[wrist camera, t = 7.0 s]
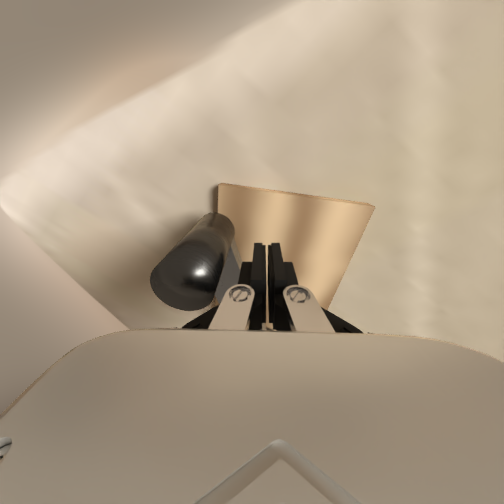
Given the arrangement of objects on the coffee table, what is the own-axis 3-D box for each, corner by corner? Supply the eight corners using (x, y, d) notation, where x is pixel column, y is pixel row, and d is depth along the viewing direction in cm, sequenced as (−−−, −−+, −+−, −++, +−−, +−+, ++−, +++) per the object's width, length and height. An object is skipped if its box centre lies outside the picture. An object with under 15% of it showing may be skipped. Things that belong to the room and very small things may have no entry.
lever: (236, 201, 15) (210, 251, 7) (282, 348, 24) (291, 436, 16) (136, 229, 16) (32, 292, 9) (215, 356, 25) (196, 439, 18)
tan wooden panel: (367, 203, 16) (411, 223, 11) (290, 378, 30) (295, 418, 26) (221, 182, 15) (204, 194, 11) (214, 369, 30) (205, 408, 25)
